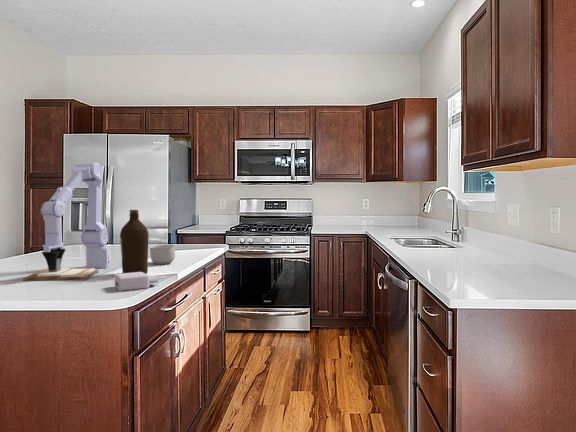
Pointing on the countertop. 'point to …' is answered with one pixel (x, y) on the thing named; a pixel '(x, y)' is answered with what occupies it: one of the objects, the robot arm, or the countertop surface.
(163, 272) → the countertop surface
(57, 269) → the stub
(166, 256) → the teacup
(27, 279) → the board
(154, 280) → the charger
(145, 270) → the olive oil
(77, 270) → the ticket
